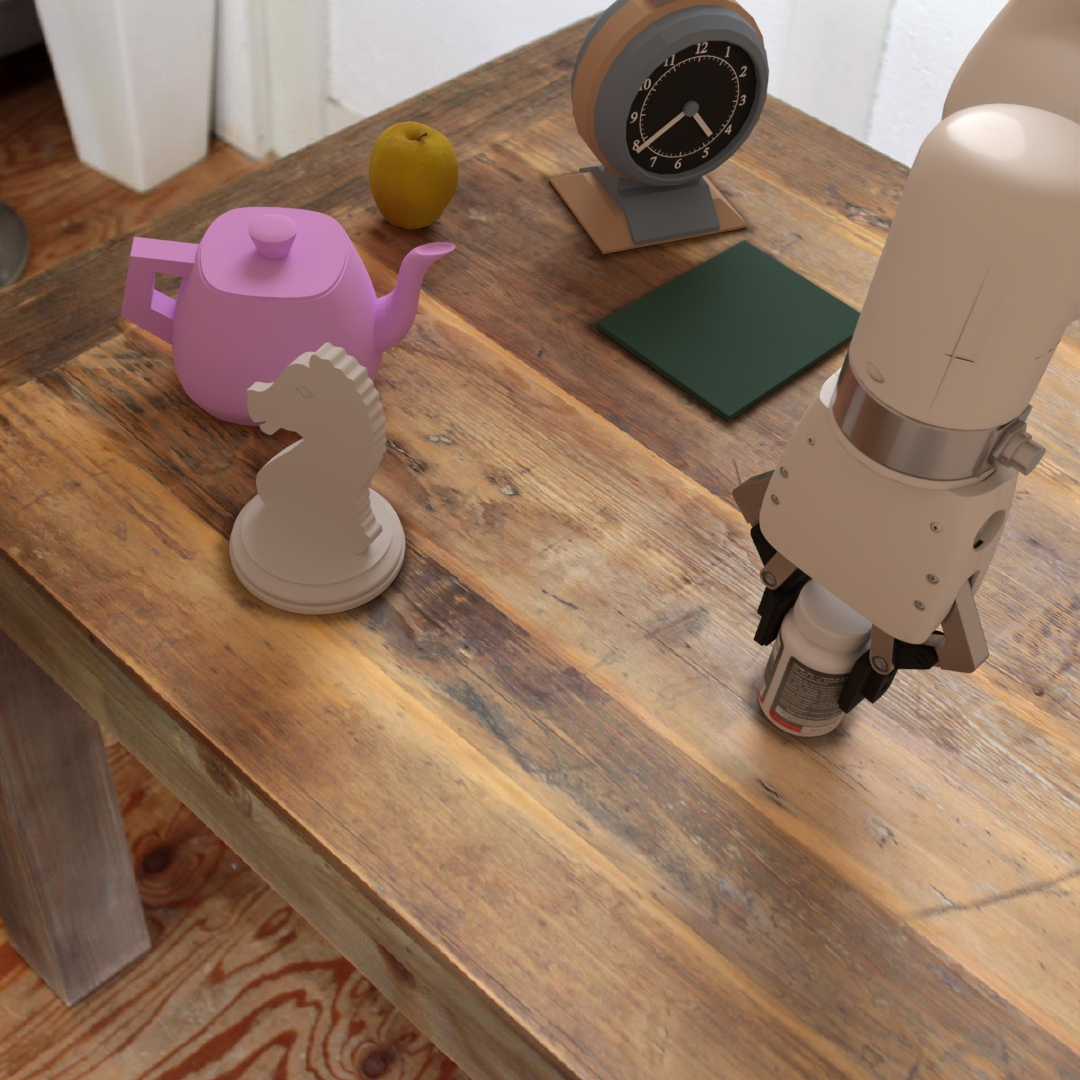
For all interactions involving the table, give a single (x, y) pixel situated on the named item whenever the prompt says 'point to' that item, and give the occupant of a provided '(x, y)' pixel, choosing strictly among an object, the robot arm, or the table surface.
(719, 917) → the table surface
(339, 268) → the teapot
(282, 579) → the chess piece
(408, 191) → the apple
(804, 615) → the pill bottle
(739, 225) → the alarm clock
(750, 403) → the mat
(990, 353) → the robot arm
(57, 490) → the table surface
